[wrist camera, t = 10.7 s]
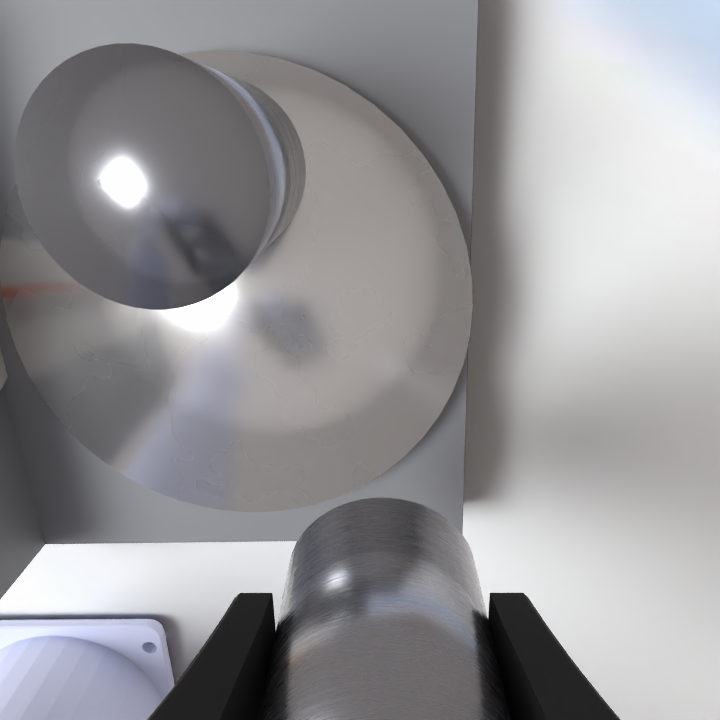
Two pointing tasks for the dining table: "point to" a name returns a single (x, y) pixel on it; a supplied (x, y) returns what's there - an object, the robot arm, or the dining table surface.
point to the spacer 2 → (383, 622)
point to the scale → (264, 37)
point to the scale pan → (269, 325)
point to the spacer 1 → (155, 174)
